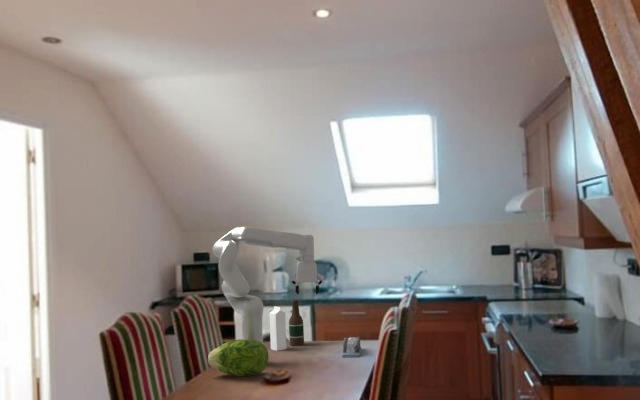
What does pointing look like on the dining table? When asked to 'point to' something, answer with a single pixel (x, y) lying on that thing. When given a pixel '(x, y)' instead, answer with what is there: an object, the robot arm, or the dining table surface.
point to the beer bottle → (296, 326)
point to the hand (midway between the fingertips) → (307, 293)
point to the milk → (277, 329)
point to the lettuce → (239, 357)
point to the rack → (357, 351)
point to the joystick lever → (351, 345)
